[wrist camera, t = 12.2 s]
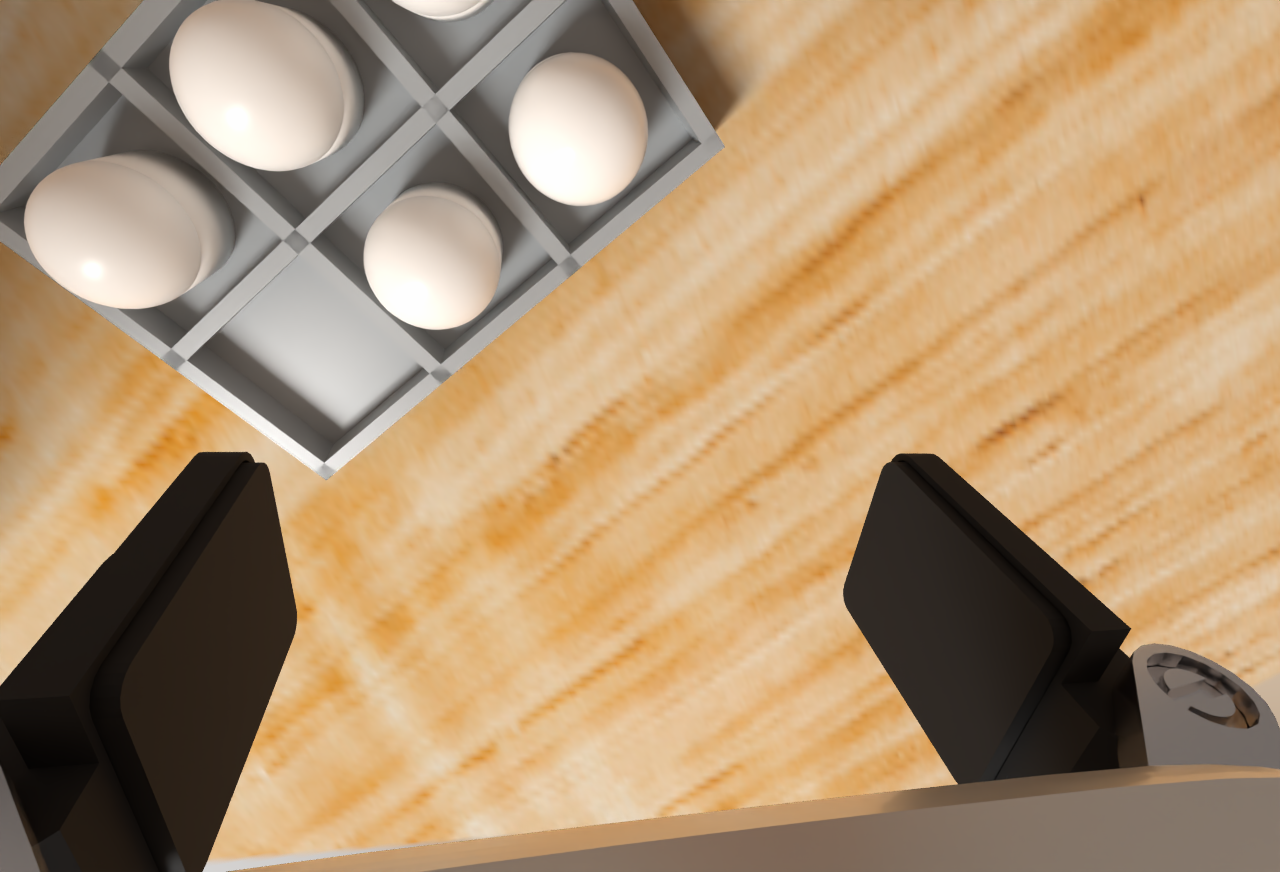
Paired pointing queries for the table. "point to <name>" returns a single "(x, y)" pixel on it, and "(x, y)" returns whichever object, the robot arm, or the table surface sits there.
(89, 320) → the table surface
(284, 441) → the carton
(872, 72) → the table surface
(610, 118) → the egg
